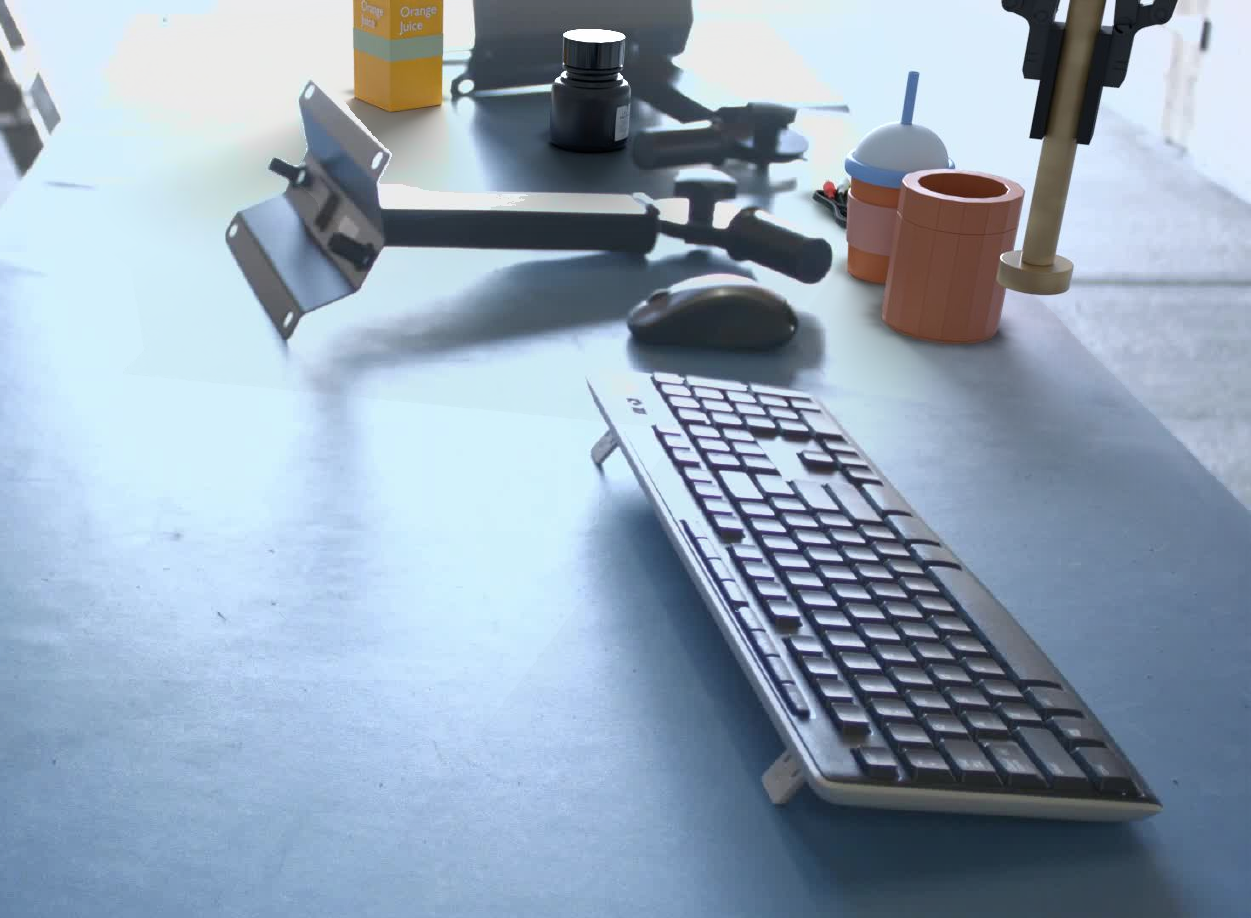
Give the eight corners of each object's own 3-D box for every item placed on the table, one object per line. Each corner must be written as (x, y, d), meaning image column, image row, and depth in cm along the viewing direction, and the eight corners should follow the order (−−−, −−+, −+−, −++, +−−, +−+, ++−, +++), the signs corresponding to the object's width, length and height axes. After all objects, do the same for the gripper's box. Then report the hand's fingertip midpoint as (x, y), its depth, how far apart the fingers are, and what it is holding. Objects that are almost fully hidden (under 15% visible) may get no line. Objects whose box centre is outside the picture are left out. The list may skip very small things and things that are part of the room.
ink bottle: (639, 152, 169) (647, 43, 164) (563, 156, 167) (569, 46, 162) (610, 130, 177) (617, 25, 172) (538, 134, 176) (542, 28, 170)
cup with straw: (815, 261, 137) (841, 60, 129) (912, 259, 138) (944, 59, 130) (850, 298, 129) (881, 86, 121) (953, 295, 130) (990, 84, 122)
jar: (1003, 320, 125) (1031, 178, 120) (987, 358, 118) (1015, 209, 112) (892, 301, 129) (915, 163, 123) (870, 337, 121) (892, 192, 116)
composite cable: (863, 229, 146) (866, 204, 145) (812, 225, 147) (815, 200, 146) (859, 199, 154) (862, 175, 153) (811, 196, 155) (814, 172, 154)
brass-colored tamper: (1072, 278, 98) (1133, -11, 90) (1065, 300, 94) (1127, 1, 86) (1001, 267, 99) (1054, -17, 91) (991, 288, 96) (1045, -6, 88)
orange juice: (405, 89, 194) (406, -75, 185) (443, 104, 187) (445, -66, 178) (352, 97, 190) (350, -71, 181) (388, 112, 184) (388, -61, 175)
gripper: (1300, -294, 82) (1198, 137, 93) (1009, -296, 88) (945, 109, 99) (1302, -293, 76) (1193, 167, 87) (990, -296, 82) (923, 135, 93)
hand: (1061, 136), depth 93 cm, fingers closed on brass-colored tamper, 2 cm apart
